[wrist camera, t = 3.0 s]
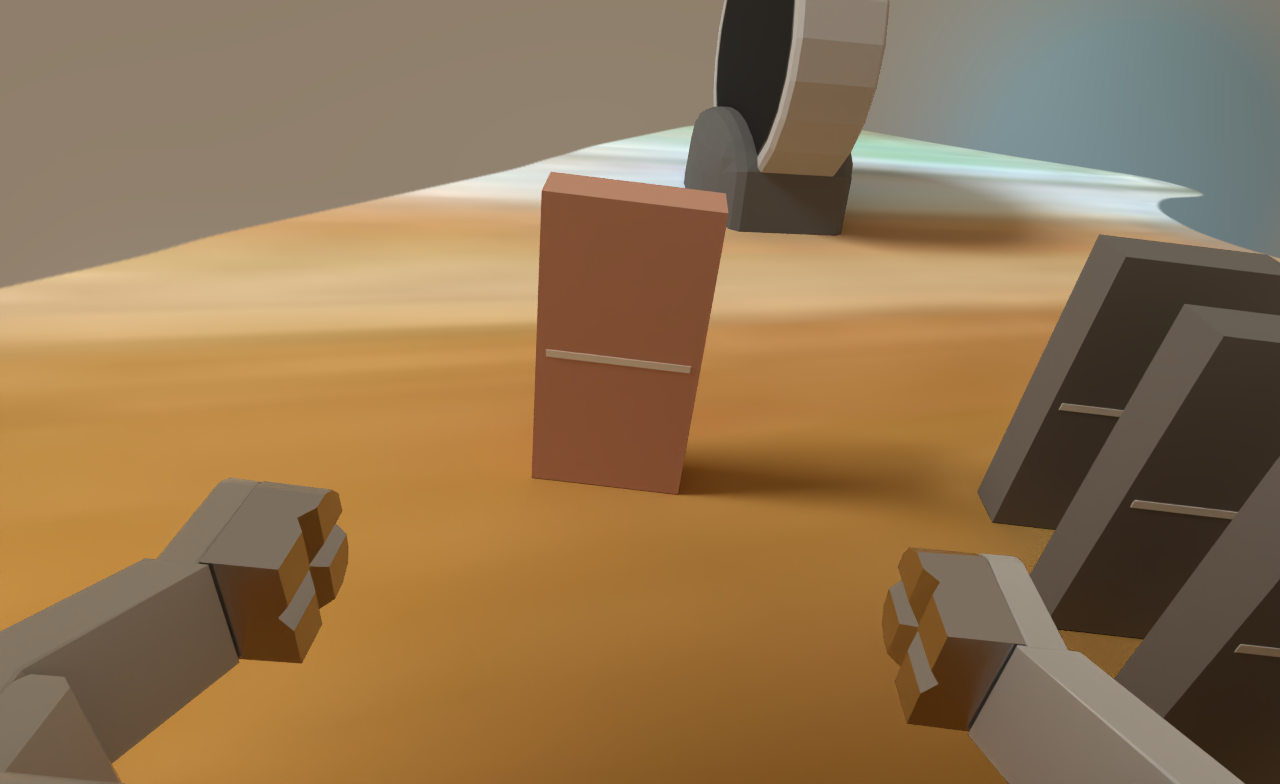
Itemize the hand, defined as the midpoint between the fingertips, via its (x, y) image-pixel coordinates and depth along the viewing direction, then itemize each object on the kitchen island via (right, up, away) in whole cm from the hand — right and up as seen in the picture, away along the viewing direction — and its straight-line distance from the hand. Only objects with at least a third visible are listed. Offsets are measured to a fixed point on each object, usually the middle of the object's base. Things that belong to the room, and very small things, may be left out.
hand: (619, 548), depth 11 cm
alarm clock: (+9, +16, +41) cm, 45 cm away
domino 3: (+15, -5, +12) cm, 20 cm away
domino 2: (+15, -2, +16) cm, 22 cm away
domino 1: (-1, 0, +15) cm, 15 cm away
